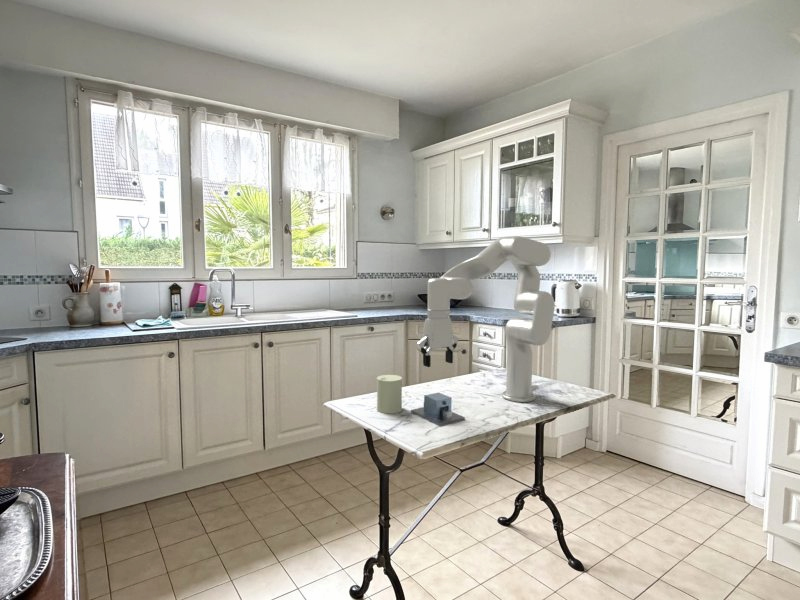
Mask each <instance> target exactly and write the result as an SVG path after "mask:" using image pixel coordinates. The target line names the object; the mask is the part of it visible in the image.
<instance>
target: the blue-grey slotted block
mask: <svg viewBox="0 0 800 600" xmlns="http://www.w3.org/2000/svg"><path fill="white" fill-rule="evenodd" d="M423 398H424V399H423V407H424V412H425V413H427V414H429V415H431V416H433V417H435V418H439V410H440V407H442V408H445V409H447V410H449V411H452V397H451V396H449V395H445V394H444V393H441V392H434V393H429V394H424V395H423Z"/></svg>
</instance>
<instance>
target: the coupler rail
mask: <svg viewBox="0 0 800 600" xmlns="http://www.w3.org/2000/svg"><path fill="white" fill-rule="evenodd" d="M410 413H411V414H414V415H416V416H418V417H420V418H422V419H424V420H426V421H428V422H429V423H432V424H435V425H436V426H438V427H441V426H445V425H449V424H452V423H456V422H461V421H465V420H466V419H465V418H466V417H465V416H463V415H460V414H458V413H456V412H453V411H452V410H451V411H449V410H447V409H445V408H442V407H440V410H439V418H435V417H433V416H431V415H429V414H427V413H425V412H424V406H423V407H419V408H415V409H414V408H413V409H411V410H410Z"/></svg>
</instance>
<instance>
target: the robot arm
mask: <svg viewBox="0 0 800 600" xmlns="http://www.w3.org/2000/svg"><path fill="white" fill-rule="evenodd" d="M551 253H552V251H551V250H550V247H549V246H548V244H546V243H544V242H541V241H537V240H534V239H531V238H527V237H524V236H516V235H515V236H502V237H498V238H496V239H495V240H494V241H493V242H491V243H490V244H489V245H488V246H486V247H485V248H484V249H483V250H482V251H480V252H479V253H478V254H477V255H475V256H474V257H472V258H469V259H467V260H465V261H463V262H461V263H459V264H456V265H455V266H454V267H452V268H450V269H448V270H447V271H446V272H444V274H442V276H440V277H437V278H436V277H433V278H429V279H428V281H427V318H425V319H424V320H425V321H424V323H423V329H422V330H423V331H422V338H421V339H420V340H418V341H417V343H416V346H417V347H418V351H419V352H420V353H421V354H422V364H423V366H424V367H427V368H430V367H431V360H432V359H431V355H430V353H431V352H432V350H437V349H444V348H445V349H446V350H445V359H444V360H445V363H448V364H453V363H454V361H453V360H454V359H453V358H454V352H455V349H456V348H457V347H458V345H457V344H458V342H459V339H460V338H459V337H457V336H455V335H454V334H453V333H454V332H453V324H452V318H450V316H451V315H452V313H453V312H452V310H450V309H451V308H450V307H451V302H450V301H451V300H452V299H453V300H467V299H468V298H469V297H470V296H472V294H473V292H474V286H473V283H472V281H473V280H479V279H482V278H486V277H488V276H491V275H492V274H493V273H494V272H496V271H497V270H498V269H499V268H500V267H501V266H503V265H504V264H505V263H506V262H508V261H510V262H511V263H512V265H513V267H514V269H515V271H516V273H517V284H516V288H515V294H514V300H513V308H514V311H515V312H517V313H518V314H522V315H526V316H532V318H528V317H520V316H515V317H512V318H509V320H508V321H507V322H506V324H505V328H504V332H505V339H506V348H507V349H506V351H507V354H506V356H507V357H506V387H505V389H506V390H504V391H503V392H502V393H501V395H502V398H503V399H505V400H508V401H512V402H517V403H527V402H528V403H529V402H533V401H534V400H536V395H535V394H534V393H533V392H534V391H538V390H539V385H537V384H535V385H532V382H533V381H532V380H533V350H532V347H531V345H533V346H537V347H539V346H544V345H545V344H546V343H547V342H549V338H550V335H551V331H552V325H553V320H554V315H555V307H556V305H555V304H556V303H555V299H554V297H553V295H552V294H551V293H550V292H548V291H545V290H544V291H543V290H540V287H541V286H540V285H541V284H540V283H541V275H540V272H539V270H538V267H542V266H545V265H547V264H548V263H549V261H550V259H551Z"/></svg>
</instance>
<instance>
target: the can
mask: <svg viewBox="0 0 800 600" xmlns="http://www.w3.org/2000/svg"><path fill="white" fill-rule="evenodd" d="M402 390H403V377H402V376H400V375H398V374H381V375H378V376H377V377H376V411H377V412H380V413H383V414H395V413H399V412H401V411H402V410H403V404H402V402H403V400H402V399H403V393H402V392H403V391H402Z"/></svg>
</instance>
